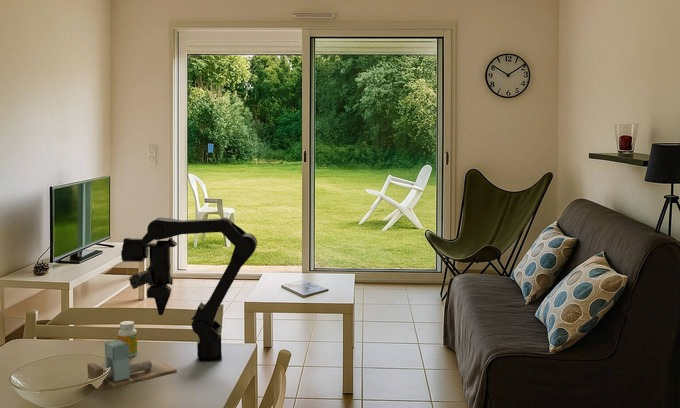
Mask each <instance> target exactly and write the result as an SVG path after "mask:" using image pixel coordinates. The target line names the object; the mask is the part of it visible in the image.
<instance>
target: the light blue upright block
mask: <svg viewBox="0 0 680 408" xmlns="http://www.w3.org/2000/svg"><path fill="white" fill-rule="evenodd" d="M104 355H105V356H104V357H105V359H104V360H105V361H104V362H105V369H106V368H109V367H111V369H112V368H113V381H119V380H124V379H128V378H130V371H129V364H130V357H129V345H128V344H126V343H124V342H123V341H121V340H118V339H116V340H111V341H106V342H104Z"/></svg>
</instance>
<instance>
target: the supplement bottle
mask: <svg viewBox="0 0 680 408" xmlns="http://www.w3.org/2000/svg"><path fill="white" fill-rule="evenodd" d="M119 328H120V329H119V330H118V331H117V340H121V341H123V342H124V343H126V344H128V345H129V358H131V357H134V356H136V355H137V354H138V331H137V329H136V328H135V321H133V320H126V321H125V320H124V321H121V322H119Z"/></svg>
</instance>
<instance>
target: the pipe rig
mask: <svg viewBox="0 0 680 408" xmlns="http://www.w3.org/2000/svg"><path fill="white" fill-rule="evenodd" d="M86 366H87V379H88V378H89V379H94V378H97V377H99V376H101V375H103V373H105V372H106V371H107V370H108V369H107V370H106V369H104V368H103V367H102V366H100V365H99V364H97V363H96V362H90V363H87V365H86ZM129 371H130V378H128V379H124V380H119V381H113V368H112V369H110V371H109V373H108V375H107V376H106V378H105V379H104V380H103V382H102V384H101V385H100V386H99V387H98V388H97V389H96V390H97V391H104V390H108V389H112V388H115V387H120V386H123V385H124V386H125V385H127V384H128V385H129V384H132V383H134V382H140V381H144V380H148V379H152V378H155V377H156V378H157V377H160V376H165V375H168V374H171V373H177V372H178V370H177V368H175V367H173V366H172V365H169V364H168V363H166V362H164V361H160V362H157V363H152V361H151V360H150V359H147V360H143V361H139V362H134V363H129Z"/></svg>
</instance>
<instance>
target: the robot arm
mask: <svg viewBox="0 0 680 408" xmlns="http://www.w3.org/2000/svg"><path fill="white" fill-rule="evenodd" d="M146 230H147V232H146V233H145V235H143V236H142V238H131V237H124V239H123V241H122V243H123V244H122V247H121V250H120V255H121V261H122V262H124V263H144V261H145V259H148V258H149V265H148V268H147V270H143V271H140V272H136V273H134V274H132V275H129V278H128V281H129V285H130V286H131V288H132V289H133V290H135V289H137V288H139V287H141V286H144V285H148V286H149V287H147V290H146V298H147V299H154V302H155V305H156V309H157V313H158V316H163V315H164V312H165V309H166V307H167V306H168V305H167V304H168V302H169V299H170V297H171V293H172V288H171V287H170V286H173V284H174V283H173V281H174V280H173V276H172V275H171V248H175V247H176V246H177V245H178V242H177V241H175V240H174V239H173V237H176V236H180V235H193V234H194V235H195V234H208V233H209V234H211V233H212V234H213V233H221V234H222V235H223V236H224V237H225V238H226V239H227V240H228V241H229V242H230V244H232V245H233V246H234V248H233V251H232V254H231V257H230V260H229V263H228V265H227V267H226V268H225V270H224V272H223V274H222V275H221V277H220V280H218V282H217V285H216V286H215V288H214V289H213V292H212V293H211V295H210V297H209V299H208V300H207V301H206V303H205V304H204V303H203V302H200V303H199V304H198V307H197V309H196V312H194V313H193V315H192V317H191V321H192V322H191V329H192V331H193V333H195V334H196V335H197V336H198V339H199V341H197V345H196V348H197V350H196V352H197V353H196V354H197V356H196V357H197V358H198V361H199V362H211V361H212V362H213V361H222V360H223V354H222V335H221V334H220V333H221V330H222V328H223V327H222V324H220V323H219V322H218V321H216V318H217V315H218V312H219V309H220V306H221V304H222V303H223V301H224V299H225V296H226V295H227V294H228V292H229V290H230V288H231V286H232V285H233V283H234V281H235V279H236V277H237V275H238V274H239V272H240V270H241V268H242V267H243V266H244V265H245V264H246V263H247V261H248V260H249V259H250V258H251V256H252V255H253V254H254V253H255V251H256V249H257V245H258V241H257V238H256V236H255V235H254V234H252V233H250V232H249V233H248V232H246V231H244V230H243V228H241V227H240V226H238V225H237V224H235V223H234V222H233V221H232V220H231V219H230V218H229V217H225V216H224V217H221V218H204V219H190V220H189V219H187V220H186V219H185V220H184V219H183V220H182V219H181V220H180V219H176V218H170V217H157V218H155V219H154V220H152V221H151V222H150V223H149V224H148V225H147V229H146ZM165 239H168V240H165ZM154 240H156V243H151V242H153V241H154ZM169 285H170V286H169Z"/></svg>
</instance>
